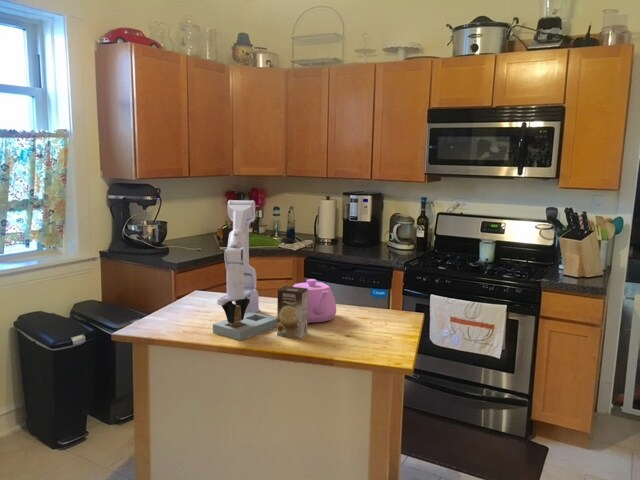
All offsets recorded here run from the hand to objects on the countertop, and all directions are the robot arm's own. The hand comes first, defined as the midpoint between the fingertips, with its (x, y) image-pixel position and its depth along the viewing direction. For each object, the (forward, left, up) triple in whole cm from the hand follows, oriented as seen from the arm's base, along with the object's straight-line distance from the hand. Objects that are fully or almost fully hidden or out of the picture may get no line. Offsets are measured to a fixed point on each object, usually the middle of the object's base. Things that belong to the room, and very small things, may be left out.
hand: (235, 321), depth 181 cm
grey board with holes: (-5, 0, -4) cm, 7 cm away
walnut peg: (0, 0, -3) cm, 3 cm away
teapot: (-29, +11, -4) cm, 31 cm away
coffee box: (-11, +16, -4) cm, 20 cm away
